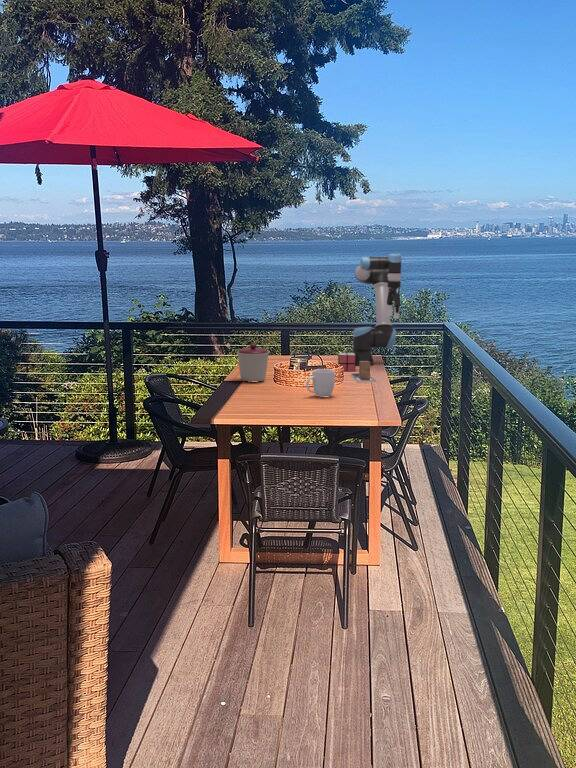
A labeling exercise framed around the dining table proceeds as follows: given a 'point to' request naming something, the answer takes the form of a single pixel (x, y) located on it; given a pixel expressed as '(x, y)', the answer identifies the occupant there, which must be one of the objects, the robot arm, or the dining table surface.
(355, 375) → the ink pad
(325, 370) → the mug
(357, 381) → the print board
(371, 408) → the dining table surface
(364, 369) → the stamp
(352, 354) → the puzzle cube
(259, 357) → the canister
